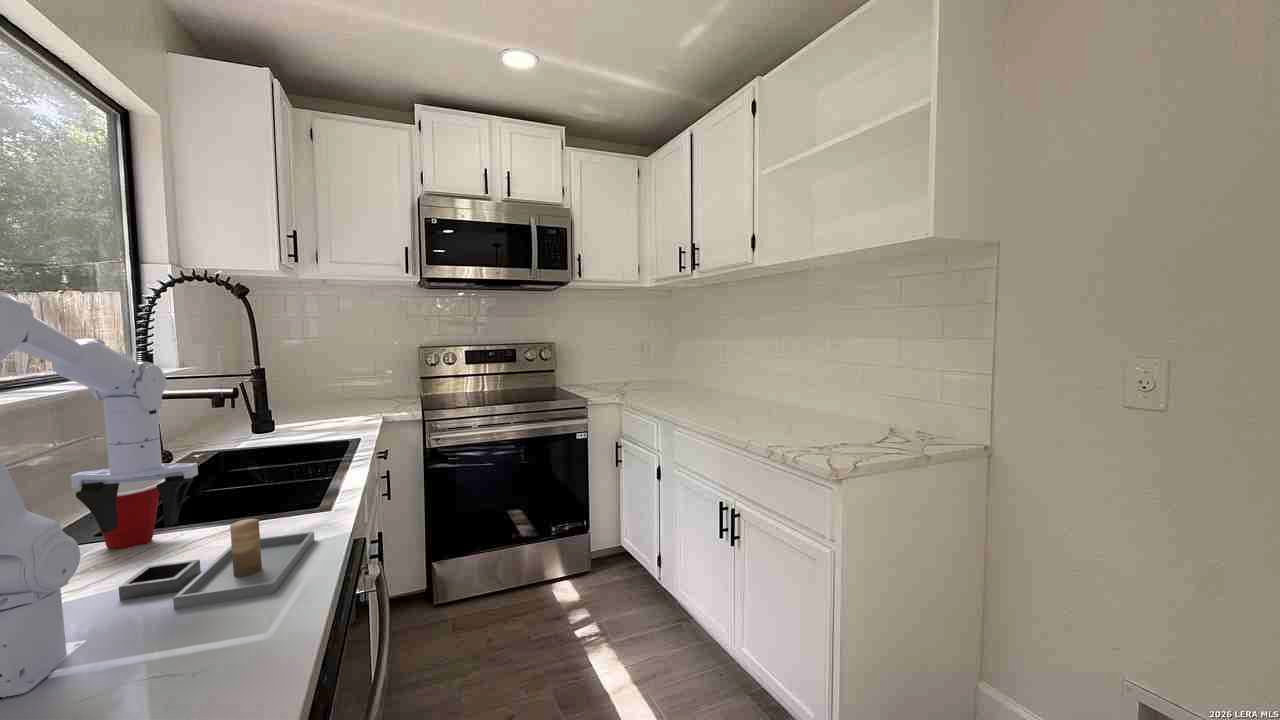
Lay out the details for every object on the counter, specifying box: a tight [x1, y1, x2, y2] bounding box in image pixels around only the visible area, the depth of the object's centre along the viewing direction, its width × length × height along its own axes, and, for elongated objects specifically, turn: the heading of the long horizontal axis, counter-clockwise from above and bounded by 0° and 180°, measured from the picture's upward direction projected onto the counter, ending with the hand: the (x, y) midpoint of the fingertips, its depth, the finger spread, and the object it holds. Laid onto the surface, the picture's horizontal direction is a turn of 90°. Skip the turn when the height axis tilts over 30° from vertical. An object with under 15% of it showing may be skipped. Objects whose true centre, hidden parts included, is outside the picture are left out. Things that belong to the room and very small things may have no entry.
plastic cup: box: [98, 475, 166, 550], centre depth 94 cm, size 11×11×12 cm
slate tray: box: [172, 531, 315, 610], centre depth 82 cm, size 20×12×2 cm, turn 18°
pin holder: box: [118, 559, 201, 602], centre depth 78 cm, size 7×7×3 cm
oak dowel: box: [230, 518, 262, 577], centre depth 81 cm, size 4×4×8 cm
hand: (141, 527), depth 78 cm, fingers open, 7 cm apart
